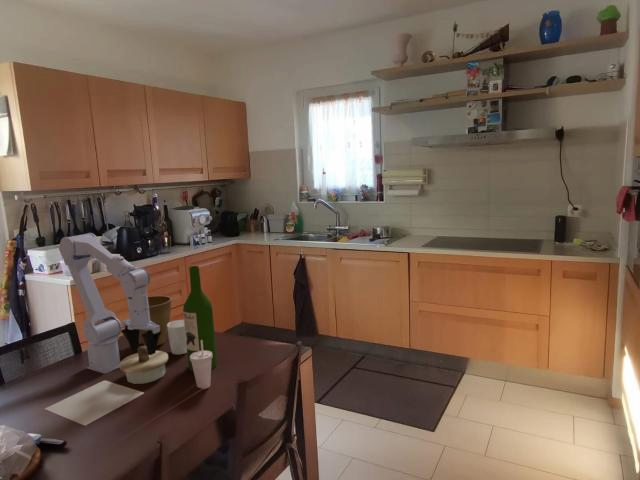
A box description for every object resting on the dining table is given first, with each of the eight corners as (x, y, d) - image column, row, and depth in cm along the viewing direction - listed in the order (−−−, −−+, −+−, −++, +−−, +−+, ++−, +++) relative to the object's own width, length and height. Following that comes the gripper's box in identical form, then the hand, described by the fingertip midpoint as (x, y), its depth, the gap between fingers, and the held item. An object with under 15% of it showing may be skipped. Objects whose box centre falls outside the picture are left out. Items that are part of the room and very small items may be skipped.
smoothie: (209, 392, 128) (205, 345, 126) (188, 390, 129) (183, 344, 127) (218, 381, 134) (214, 336, 132) (198, 380, 136) (194, 335, 133)
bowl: (119, 381, 138) (117, 366, 137) (148, 366, 147) (147, 352, 146) (143, 388, 132) (142, 373, 132) (172, 372, 142) (171, 358, 141)
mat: (44, 410, 122) (44, 408, 122) (104, 381, 137) (104, 380, 137) (85, 427, 113) (85, 425, 113) (144, 394, 128) (144, 392, 128)
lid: (109, 367, 136) (107, 352, 135) (147, 350, 148) (145, 336, 147) (140, 376, 129) (139, 360, 129) (178, 357, 141) (176, 342, 141)
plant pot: (183, 337, 171) (179, 296, 168) (156, 353, 157) (151, 308, 154) (152, 333, 176) (147, 294, 173) (123, 348, 162) (118, 305, 160)
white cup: (172, 347, 162) (169, 320, 160) (195, 345, 163) (192, 318, 161) (167, 356, 154) (164, 328, 153) (190, 354, 155) (188, 326, 153)
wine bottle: (182, 370, 143) (172, 269, 138) (200, 358, 151) (191, 263, 146) (206, 373, 140) (196, 271, 134) (222, 361, 148) (214, 264, 142)
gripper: (111, 310, 136) (116, 352, 139) (144, 316, 129) (149, 361, 131) (131, 303, 142) (136, 344, 145) (163, 309, 135) (168, 352, 137)
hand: (143, 351), depth 138 cm, fingers open, 7 cm apart
